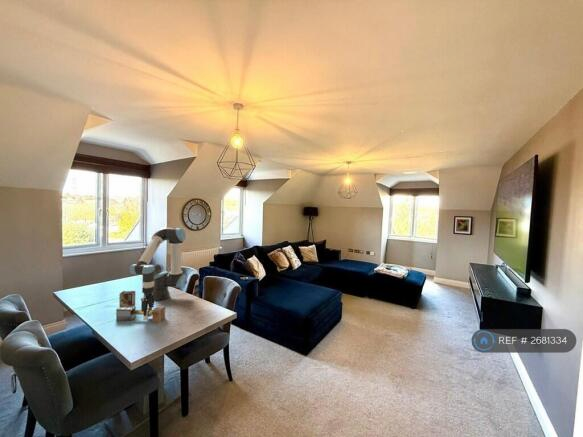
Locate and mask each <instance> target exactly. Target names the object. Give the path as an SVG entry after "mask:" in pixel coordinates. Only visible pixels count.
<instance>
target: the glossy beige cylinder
mask: <svg viewBox="0 0 583 437" xmlns="http://www.w3.org/2000/svg"><path fill="white" fill-rule="evenodd" d="M153 310H154V309H153V307H152V308H147V311H148V318H149V317H150V315H152V314H153ZM132 314H136V315H137V316H138V315H139V316H140V315H142V316H144V312H143V311H141V309H136V310H133V311H132Z"/></svg>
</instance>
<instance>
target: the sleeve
mask: <svg viewBox="0 0 583 437" xmlns="http://www.w3.org/2000/svg"><path fill="white" fill-rule="evenodd" d="M133 310H137V306H136V305H135V306H121V307H120V306H119V307H118V308H116V312H115V315H116V317H115V318H116V320H115V321H116V322H131V321H133V320H134V319H136V314H132V311H133Z"/></svg>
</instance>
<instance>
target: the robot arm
mask: <svg viewBox="0 0 583 437" xmlns="http://www.w3.org/2000/svg"><path fill="white" fill-rule="evenodd" d="M186 236H187V235H186V231H185V229H184V228H182V227H162V228H160V229H158V230H157V231H155V233H153V235H152V237H151V240H150V242H149V243H148V245H147V246H146V248H145V250H144V251H143V253H142V254H141V256H140V258H139V260H138V261H137V263H135V264H131V266H130V267H129V273H130V274H132V275H142V282H141V284H142V289H141V290H142V291H141V292H142V293H141V294H143V297H141V298H140V301H141V305H140V308H141V309H140V310H141V311H143V312H144V315H143V320H145V321H148V320H149V317H152V315H150V316H149V317H148V311H147V308H152V309H153V308H154V306H155V302H158V301H164V300H167V299H169V298H170V297H171V294H170V291H169V288H181V287H183V286H184V284H185V282H186V279H187V278H186V274H184V271H183V270H182V244H183V243H184V241H185V240H186ZM164 241H168V244H169V245H170V271H167V270H165V271H164V265H163V264H161V263H156V264H150V263H151V261H152V259H153V257H154V256H155V254H156V252H157V250H158V249H159V247H160V246H161V244H163V243H164Z"/></svg>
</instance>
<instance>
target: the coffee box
mask: <svg viewBox="0 0 583 437" xmlns="http://www.w3.org/2000/svg"><path fill="white" fill-rule="evenodd" d="M121 306H136V290H123V291H121V292H120V293H119V307H121Z"/></svg>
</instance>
